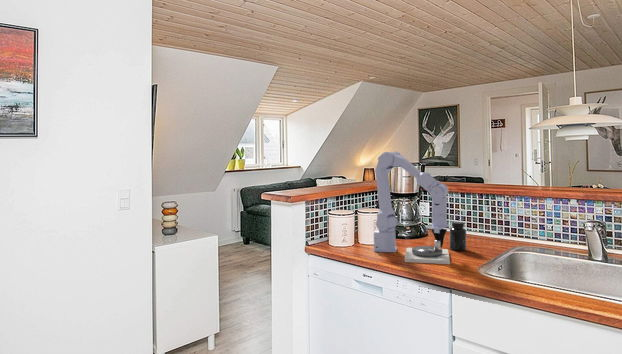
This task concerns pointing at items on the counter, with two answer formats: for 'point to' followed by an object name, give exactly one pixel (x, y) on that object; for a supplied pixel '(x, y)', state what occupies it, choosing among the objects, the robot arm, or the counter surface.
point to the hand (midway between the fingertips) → (439, 246)
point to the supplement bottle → (457, 237)
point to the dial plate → (420, 259)
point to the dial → (428, 250)
